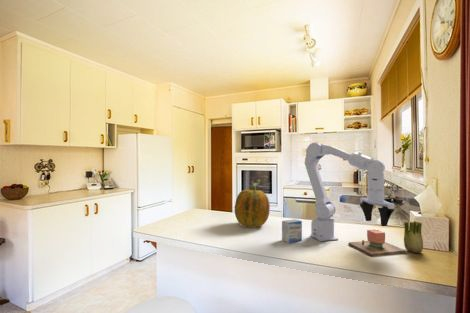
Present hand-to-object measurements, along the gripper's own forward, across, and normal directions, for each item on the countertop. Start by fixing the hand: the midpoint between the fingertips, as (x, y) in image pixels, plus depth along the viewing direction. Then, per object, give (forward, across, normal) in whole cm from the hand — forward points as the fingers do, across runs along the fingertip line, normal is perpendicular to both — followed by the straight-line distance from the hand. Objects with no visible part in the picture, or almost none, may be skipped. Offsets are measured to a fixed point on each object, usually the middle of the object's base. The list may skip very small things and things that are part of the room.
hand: (376, 223), depth 92 cm
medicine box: (+10, +16, +29) cm, 35 cm away
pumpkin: (+10, +40, +40) cm, 58 cm away
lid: (+7, 0, 0) cm, 7 cm away
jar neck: (+10, 0, 0) cm, 10 cm away
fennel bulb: (+10, -6, -12) cm, 17 cm away
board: (+10, 0, 0) cm, 10 cm away
